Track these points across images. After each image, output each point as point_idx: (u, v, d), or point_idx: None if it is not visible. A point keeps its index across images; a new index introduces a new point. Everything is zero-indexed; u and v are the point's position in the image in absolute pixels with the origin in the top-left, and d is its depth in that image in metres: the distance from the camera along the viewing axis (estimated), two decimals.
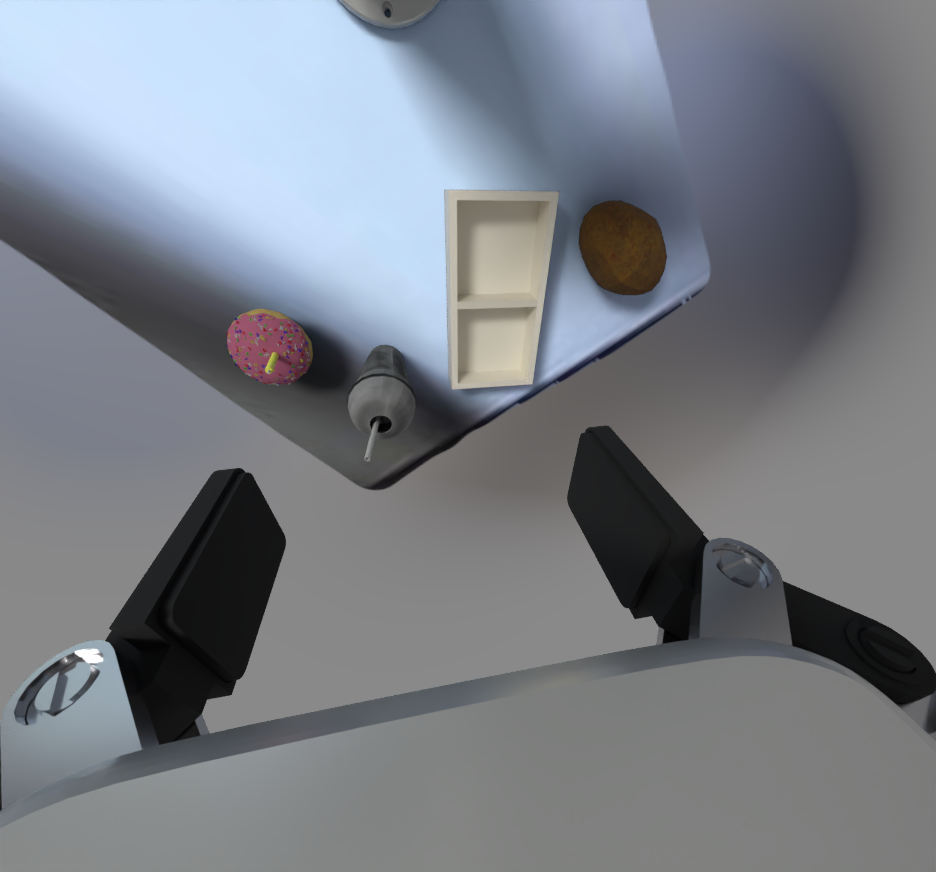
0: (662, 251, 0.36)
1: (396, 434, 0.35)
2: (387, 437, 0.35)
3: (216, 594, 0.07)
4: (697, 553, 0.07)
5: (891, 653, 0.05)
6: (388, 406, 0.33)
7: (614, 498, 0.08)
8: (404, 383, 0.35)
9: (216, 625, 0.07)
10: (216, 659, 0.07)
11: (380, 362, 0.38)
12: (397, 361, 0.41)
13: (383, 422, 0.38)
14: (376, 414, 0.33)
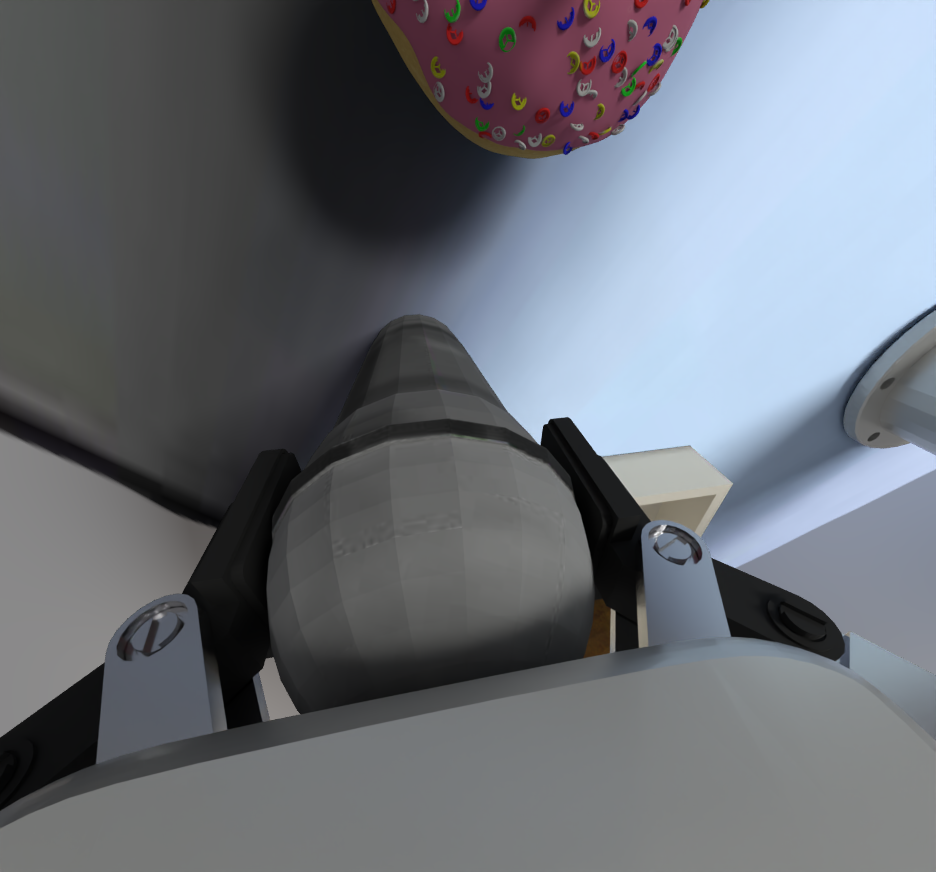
0: None
1: None
2: None
3: None
4: None
5: (804, 623, 0.06)
6: None
7: None
8: None
9: None
10: None
11: None
12: None
13: None
14: None
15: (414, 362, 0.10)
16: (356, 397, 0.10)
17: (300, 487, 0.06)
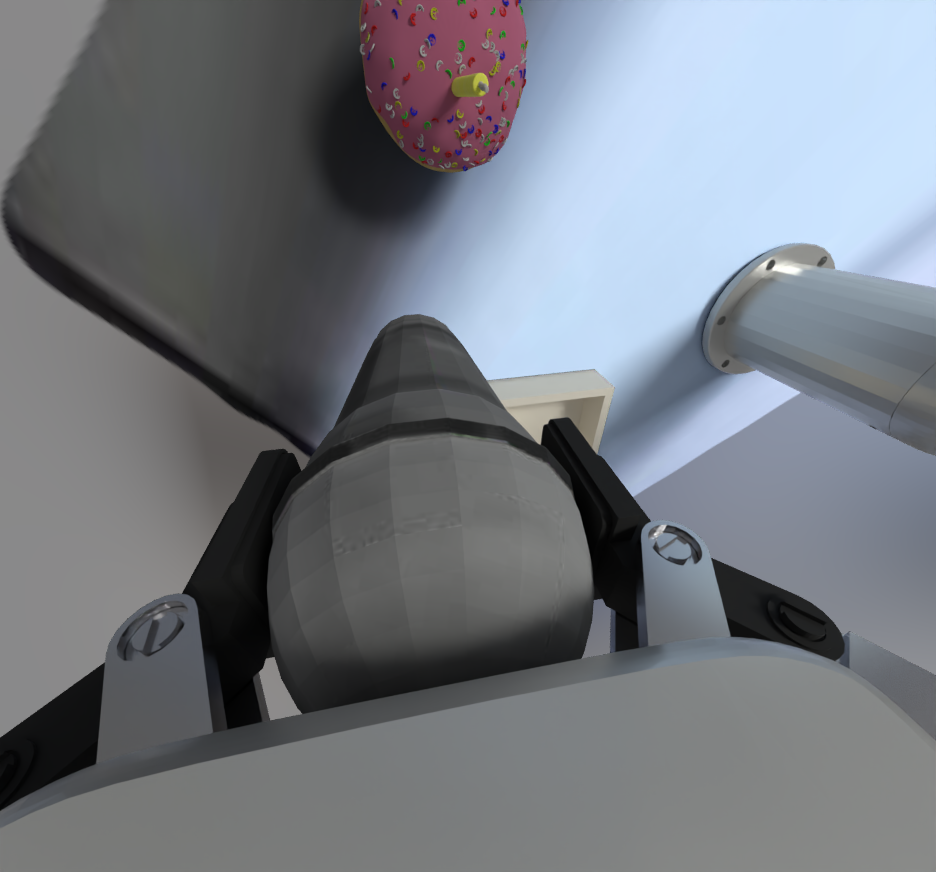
0: None
1: None
2: None
3: None
4: None
5: (804, 623, 0.06)
6: None
7: None
8: None
9: None
10: None
11: None
12: None
13: None
14: None
15: (414, 362, 0.10)
16: (356, 396, 0.10)
17: (300, 486, 0.06)
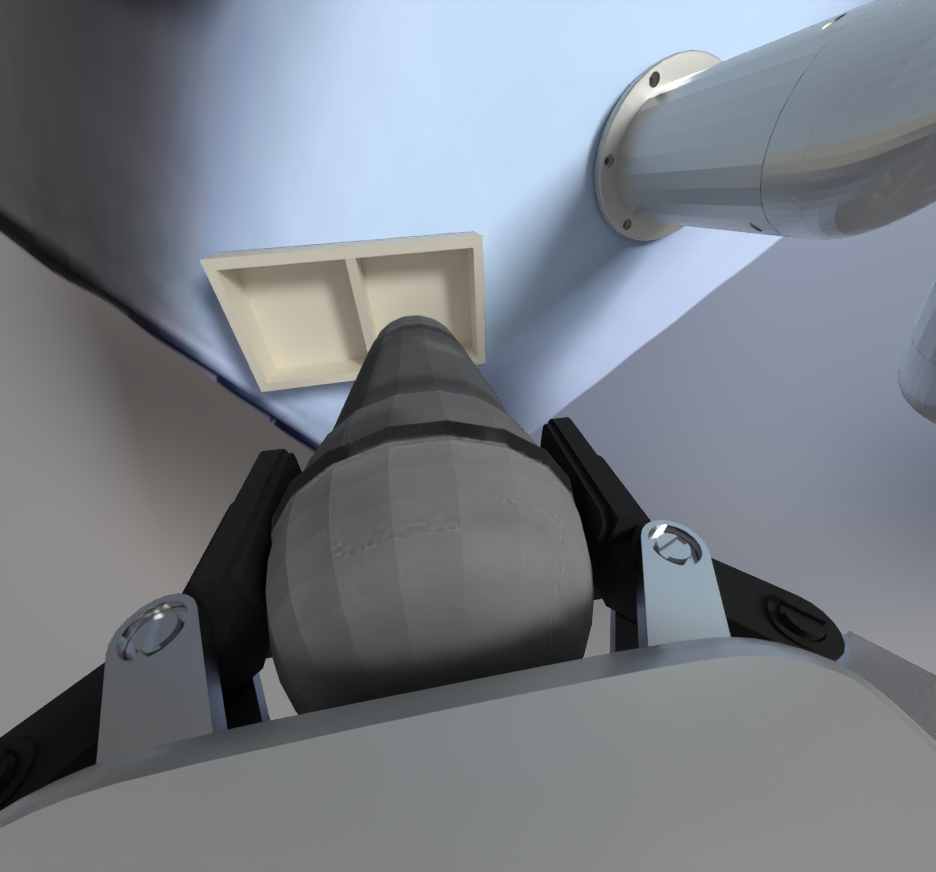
0: None
1: None
2: None
3: None
4: None
5: (804, 623, 0.06)
6: None
7: None
8: None
9: None
10: None
11: None
12: None
13: None
14: None
15: (413, 363, 0.10)
16: (355, 398, 0.10)
17: (299, 489, 0.06)
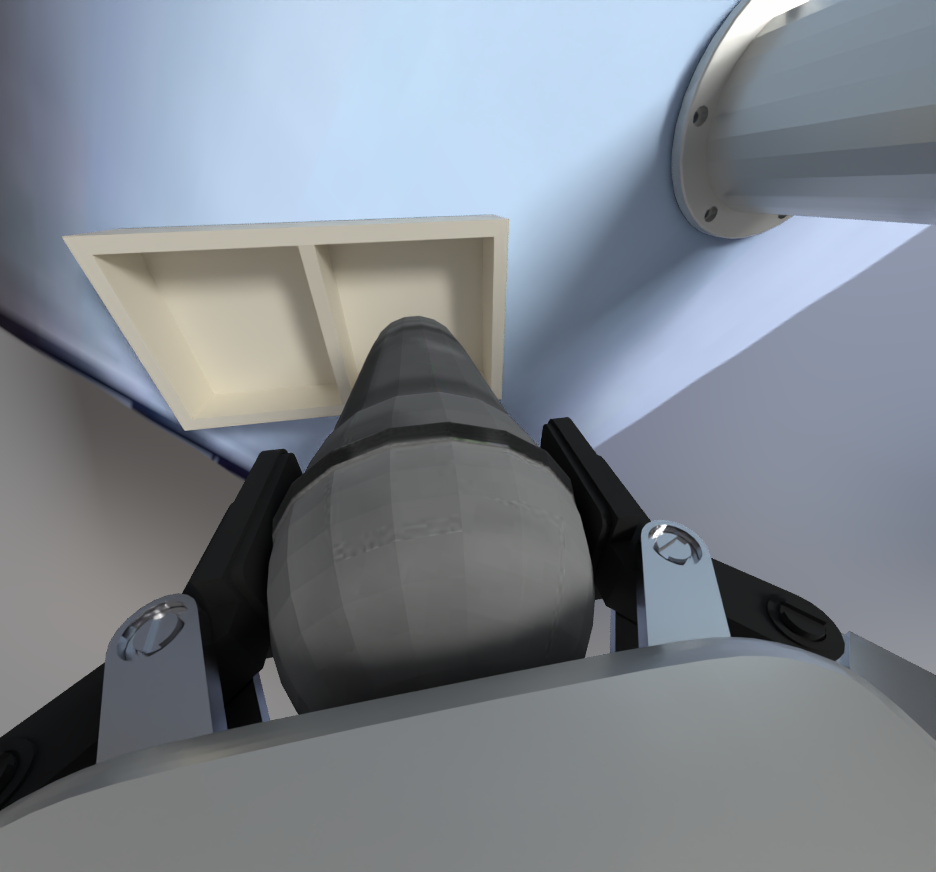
0: None
1: None
2: None
3: None
4: None
5: (804, 623, 0.06)
6: None
7: None
8: None
9: None
10: None
11: None
12: None
13: None
14: None
15: (414, 364, 0.10)
16: (356, 399, 0.10)
17: (300, 490, 0.06)
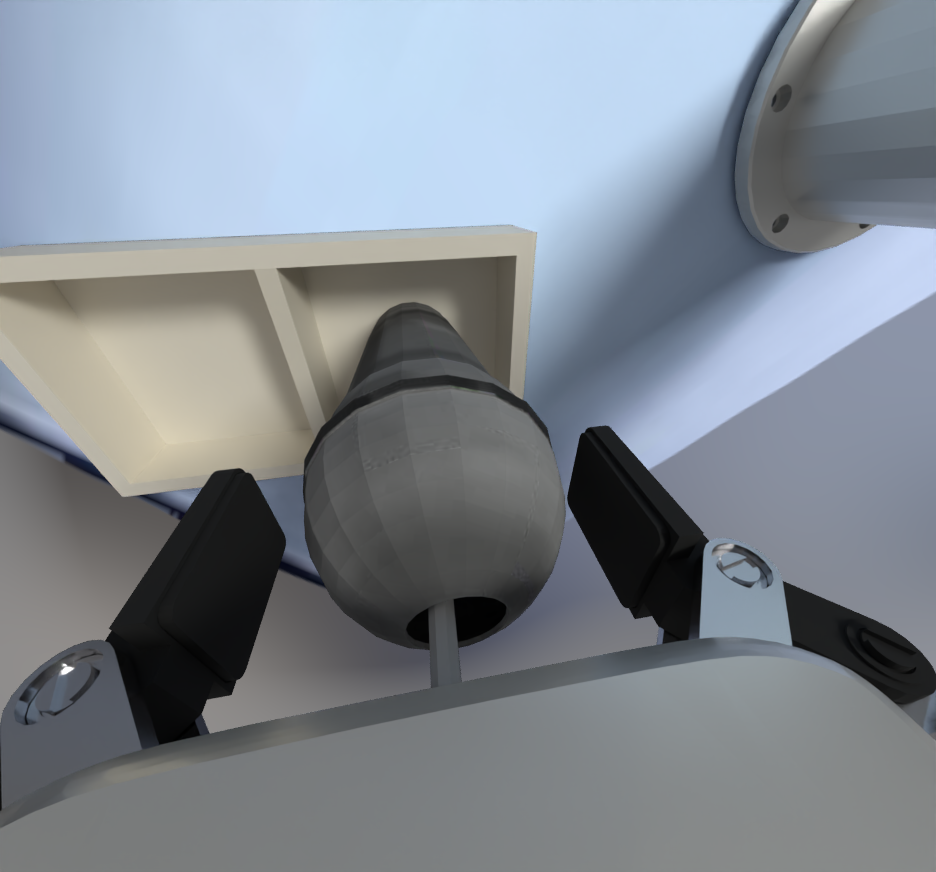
0: None
1: None
2: (360, 623, 0.07)
3: (216, 594, 0.07)
4: (697, 553, 0.07)
5: (891, 653, 0.05)
6: (527, 607, 0.08)
7: (614, 498, 0.08)
8: None
9: (216, 625, 0.07)
10: (216, 659, 0.07)
11: None
12: None
13: None
14: (514, 604, 0.07)
15: (415, 339, 0.12)
16: (366, 368, 0.11)
17: (330, 430, 0.08)
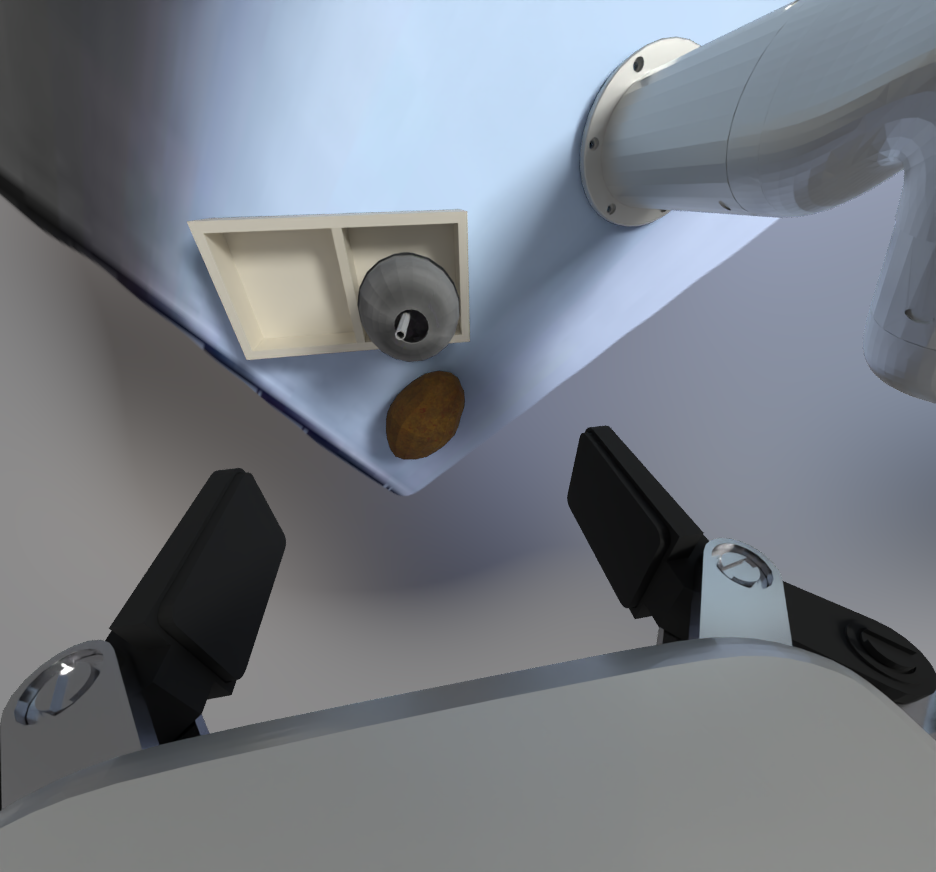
0: (432, 451, 0.39)
1: (384, 344, 0.22)
2: (379, 331, 0.22)
3: (216, 594, 0.07)
4: (697, 553, 0.07)
5: (891, 653, 0.05)
6: (439, 336, 0.22)
7: (614, 498, 0.08)
8: None
9: (216, 625, 0.07)
10: (216, 659, 0.07)
11: None
12: None
13: None
14: (429, 321, 0.21)
15: None
16: None
17: (370, 271, 0.22)
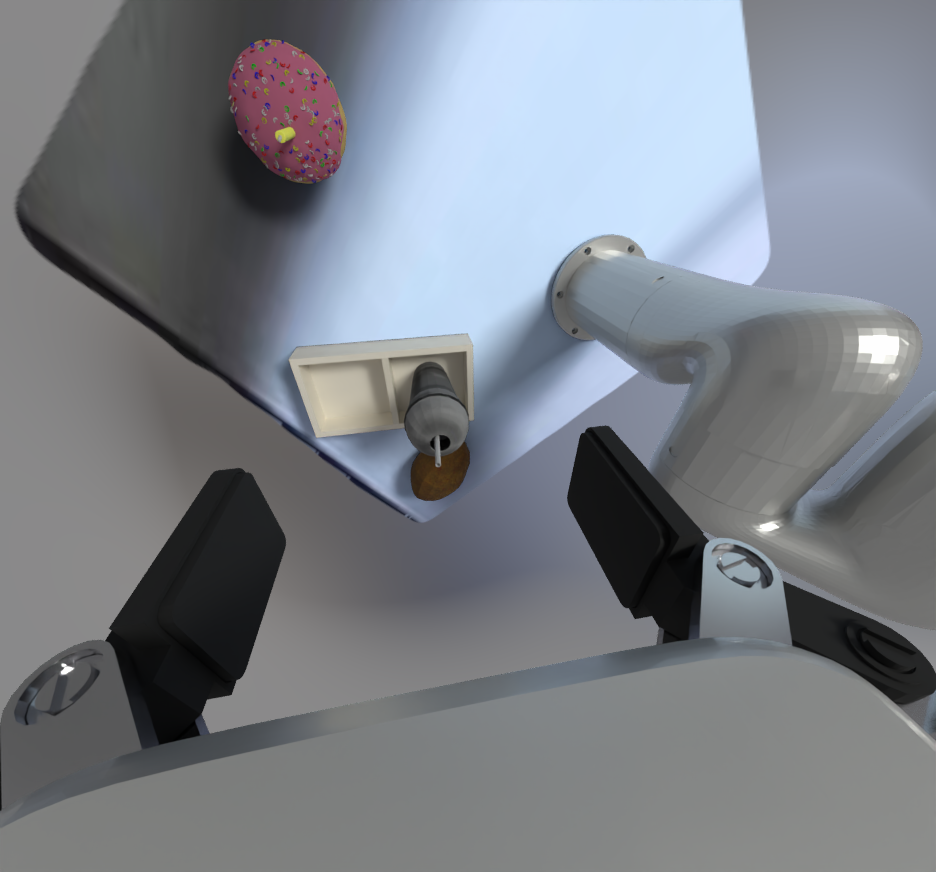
0: (445, 496, 0.52)
1: (422, 450, 0.36)
2: (420, 444, 0.35)
3: (216, 594, 0.07)
4: (697, 553, 0.07)
5: (891, 653, 0.05)
6: (456, 445, 0.36)
7: (614, 498, 0.08)
8: None
9: (216, 625, 0.07)
10: (216, 659, 0.07)
11: None
12: None
13: None
14: (451, 439, 0.35)
15: (431, 381, 0.40)
16: (417, 390, 0.39)
17: (413, 405, 0.36)
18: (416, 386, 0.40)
